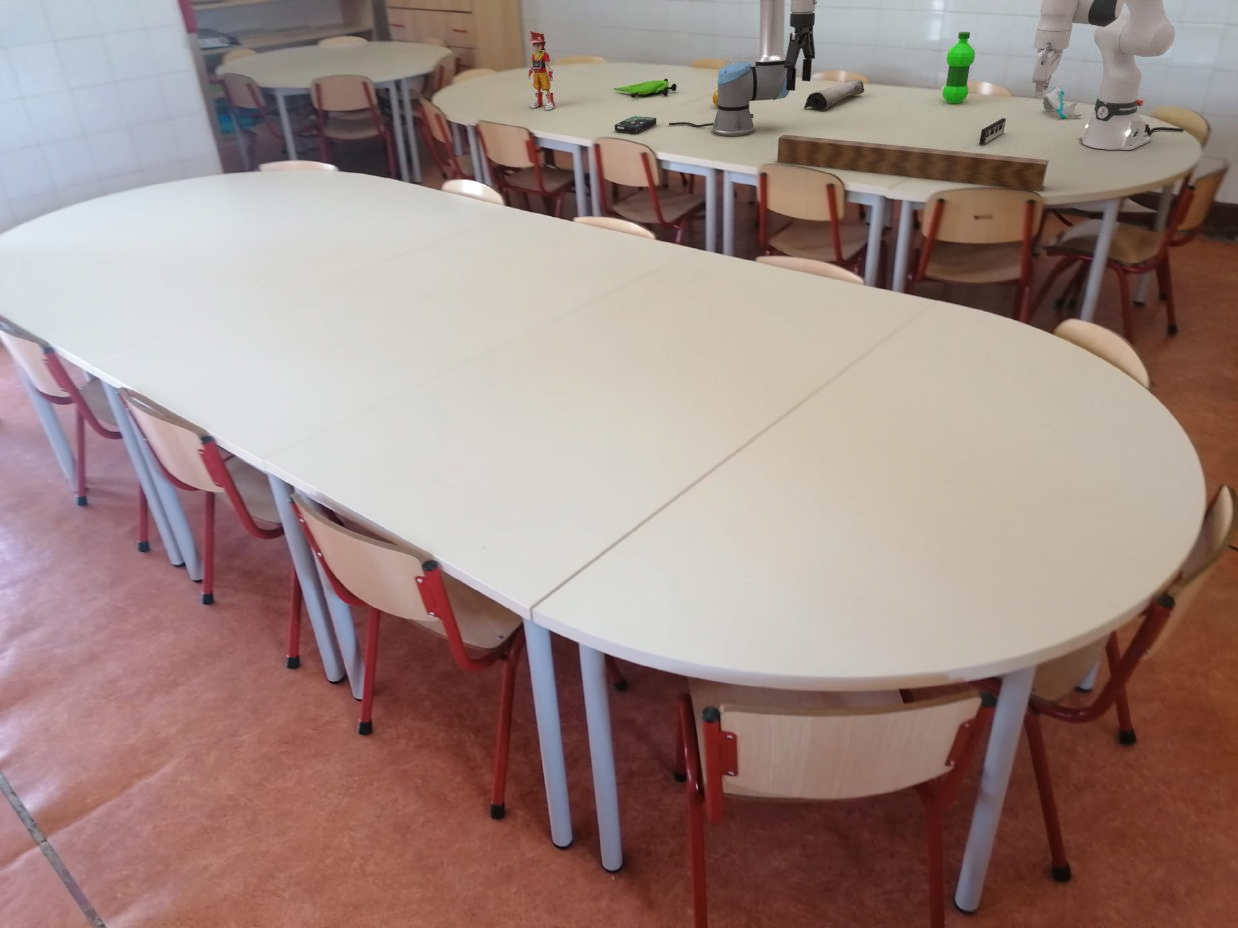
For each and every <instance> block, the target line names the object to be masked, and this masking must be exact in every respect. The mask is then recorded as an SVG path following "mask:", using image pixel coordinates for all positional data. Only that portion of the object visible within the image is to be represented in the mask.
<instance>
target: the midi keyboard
mask: <svg viewBox="0 0 1238 928" xmlns="http://www.w3.org/2000/svg"><path fill="white" fill-rule="evenodd" d="M1006 120H1007V117H1002V118H1000V119H998V120H996V121H995V122H993V123H991V124H989V125H988V126H986V127H983V128H982V129H981V131H980V136H979V137H980V138H979V143H978V145H981V146H983V145H985V144H986V143H988V142H989V141H991V140H993V139H994V138H996V137H999V136H1000V135H1002V134H1004V131H1005V127H1006Z"/></svg>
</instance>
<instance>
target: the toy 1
mask: <svg viewBox="0 0 1238 928" xmlns="http://www.w3.org/2000/svg"><path fill="white" fill-rule="evenodd" d="M529 33H530V35H531V36H528V37H527V38H528V39H529V40H528V41H527V43H529V44H530V43H531V44H532V48H533V50H534V51H533V52H532V55H531V58H530V59H531V63H530V66H528V74H527V75H528V76H527V77H528V79H529V80H531V75H532V74H533V84H532V85H533V86H532V87H533V88H534V89H535V90H536V92H534V95H535V97H536V100H535V101H533V102H531V105H530V108H531V109H535V108H538V107H542V106H544V101H543V100H544V99H543V95H544V92H546V94H545V97H546V99H547V103H546V104H545V106H544V110H546V111H549V110H553V109H554V107H555V106H556V105H555V99H554V92H551V91H550V90H551V86H552V84H551V82H552V81H553V80H554V77H553V73H554V71H555V70H554V69H552V68H551V63H550V61H551V59H550V58H551V57H550V54H549V53H548V52H547V50H546V48H545V46H546V44H547V41H545V35H544V33H543V32H542V33H539V32H535V31H529Z"/></svg>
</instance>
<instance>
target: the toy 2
mask: <svg viewBox="0 0 1238 928" xmlns="http://www.w3.org/2000/svg"><path fill="white" fill-rule="evenodd" d="M669 85H670V83H669V79H668V78H664V79H663V80H649V81H644V82H640V83H634V84H629V85H627V86H621V87H613V88H612V89H613V90H616V91H619V92H623V93H627V94H628V93H629V94H631V95H630V96H631V98H632V99H634V98H636V96H637V95H650V94H652V93H654V94H658V93H662V95H663V96H665V97H667V96H668V95H669V90H671V91H672V92H676V91H677V84H676V83H672V84H671V86H669Z"/></svg>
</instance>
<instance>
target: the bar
mask: <svg viewBox="0 0 1238 928" xmlns="http://www.w3.org/2000/svg"><path fill="white" fill-rule="evenodd" d="M777 142H778V143H777V158H776V159H777V163H782V164H791V165H801V166H811V167H819V168H820V167H821V168H828V169H837V170H847V171H856V172H864V173H872V174H873V173H874V174H882V175H890V176H891V175H892V176H900V177H909V178H917V179H927V180H937V181H944V182H945V181H946V182H955V183H962V184H963V183H964V184H971V185H981V186H989V187H990V186H991V187H1000V188H1008V189H1018V190H1025V191H1026V190H1027V191H1036V192H1041V191H1042V189H1043V187H1044V184H1045V180H1046V179H1045V178H1046V176H1047V175H1046V174H1047V169H1048V165H1049V161H1050V160H1049V159H1043V158H1042V159H1041V158H1031V157H1023V156H1012V155H1011V156H1010V155H1001V154H990V153H979V152H970V151H961V150H951V149H939V148H938V149H937V148H929V147H928V148H927V147H919V146H908V145H907V146H906V145H897V144H886V143H878V142H877V143H875V142H866V141H855V140H844V139H833V138H824V137H815V136H813V137H812V136H804V135H794V134H793V135H792V134H782V135H781V136H779V137H778V139H777Z"/></svg>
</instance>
